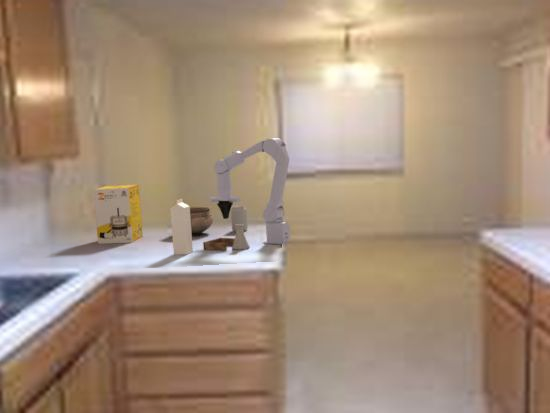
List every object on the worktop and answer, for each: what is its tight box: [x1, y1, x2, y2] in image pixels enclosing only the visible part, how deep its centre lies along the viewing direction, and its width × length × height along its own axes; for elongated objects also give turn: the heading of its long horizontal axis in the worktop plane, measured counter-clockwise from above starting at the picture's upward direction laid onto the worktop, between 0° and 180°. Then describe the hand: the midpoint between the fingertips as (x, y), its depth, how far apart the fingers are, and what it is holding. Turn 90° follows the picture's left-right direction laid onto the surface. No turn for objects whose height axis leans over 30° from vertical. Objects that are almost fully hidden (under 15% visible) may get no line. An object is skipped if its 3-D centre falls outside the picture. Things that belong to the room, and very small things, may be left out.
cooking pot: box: [190, 206, 214, 236], centre depth 336 cm, size 25×19×12 cm
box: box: [202, 237, 235, 252], centre depth 295 cm, size 11×12×3 cm
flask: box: [231, 224, 250, 251], centre depth 290 cm, size 7×7×10 cm
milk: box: [170, 198, 194, 256], centre depth 285 cm, size 6×6×22 cm
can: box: [230, 205, 248, 233], centre depth 339 cm, size 8×8×12 cm
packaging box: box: [93, 184, 144, 245], centre depth 330 cm, size 16×16×25 cm
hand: (226, 218), depth 307 cm, fingers closed
